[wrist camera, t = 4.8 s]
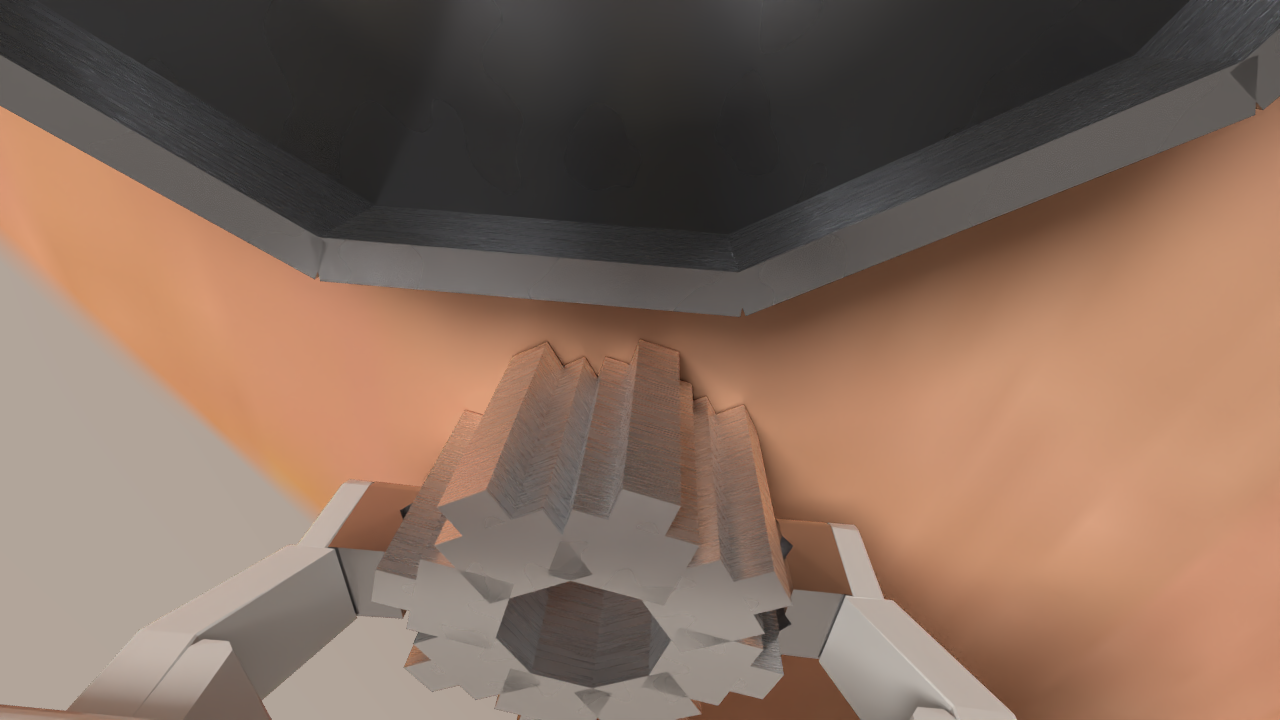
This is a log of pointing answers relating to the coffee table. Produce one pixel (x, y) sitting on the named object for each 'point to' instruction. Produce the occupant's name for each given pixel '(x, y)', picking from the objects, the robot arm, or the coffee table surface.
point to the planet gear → (593, 547)
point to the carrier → (625, 126)
